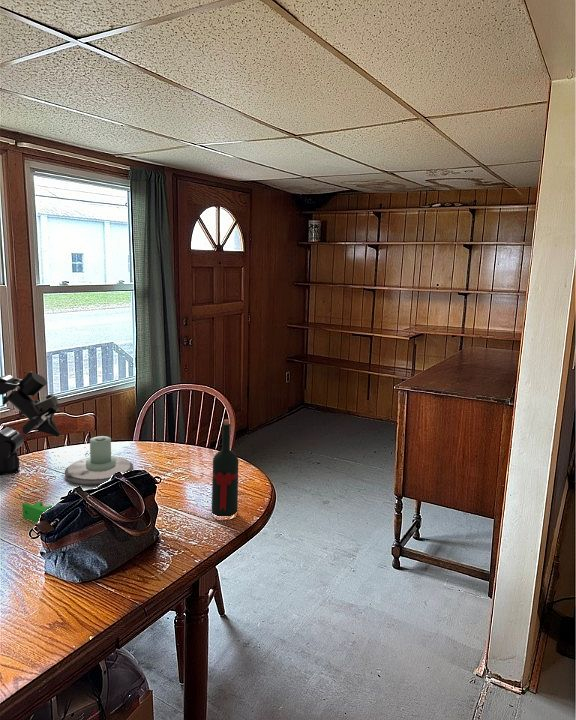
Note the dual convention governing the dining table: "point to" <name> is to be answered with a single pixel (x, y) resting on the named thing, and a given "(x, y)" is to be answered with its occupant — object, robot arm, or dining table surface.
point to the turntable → (94, 472)
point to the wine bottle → (225, 477)
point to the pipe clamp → (33, 511)
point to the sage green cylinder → (100, 454)
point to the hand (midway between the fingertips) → (59, 435)
